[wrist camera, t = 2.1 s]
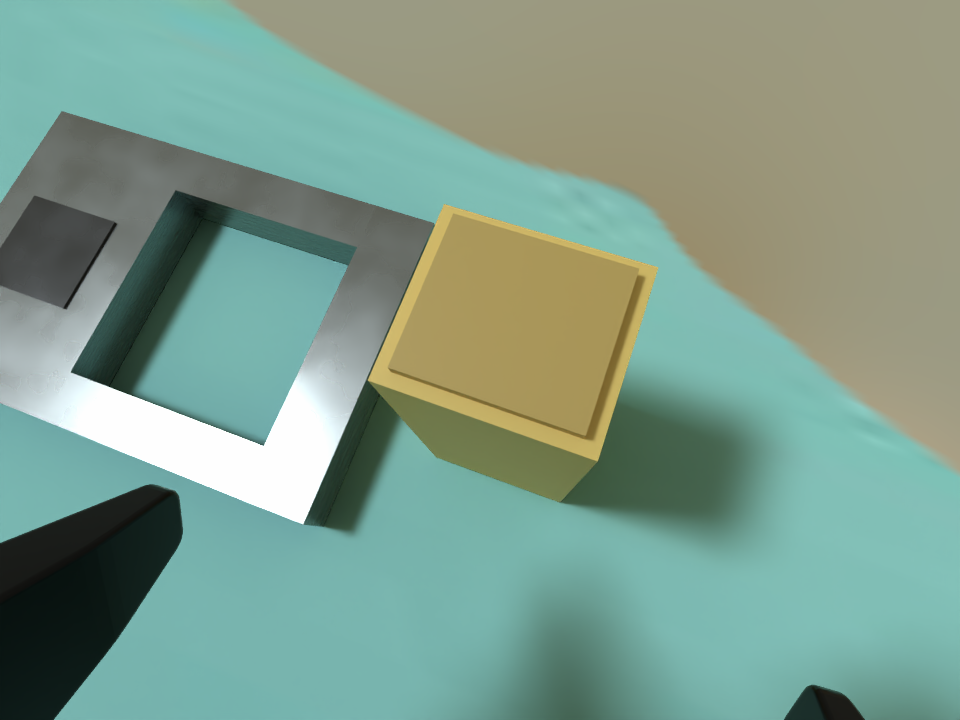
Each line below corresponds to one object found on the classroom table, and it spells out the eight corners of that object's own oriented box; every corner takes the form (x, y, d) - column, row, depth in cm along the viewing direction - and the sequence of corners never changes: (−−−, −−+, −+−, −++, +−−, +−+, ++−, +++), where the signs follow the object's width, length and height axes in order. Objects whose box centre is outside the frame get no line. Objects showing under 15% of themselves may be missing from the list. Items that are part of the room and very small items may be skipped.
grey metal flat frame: (323, 526, 20) (302, 524, 18) (-53, 376, 23) (-108, 360, 21) (440, 250, 23) (433, 221, 21) (95, 143, 26) (59, 109, 24)
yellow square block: (559, 502, 20) (599, 459, 10) (436, 456, 21) (363, 376, 11) (595, 393, 21) (661, 260, 11) (476, 353, 22) (442, 196, 12)
